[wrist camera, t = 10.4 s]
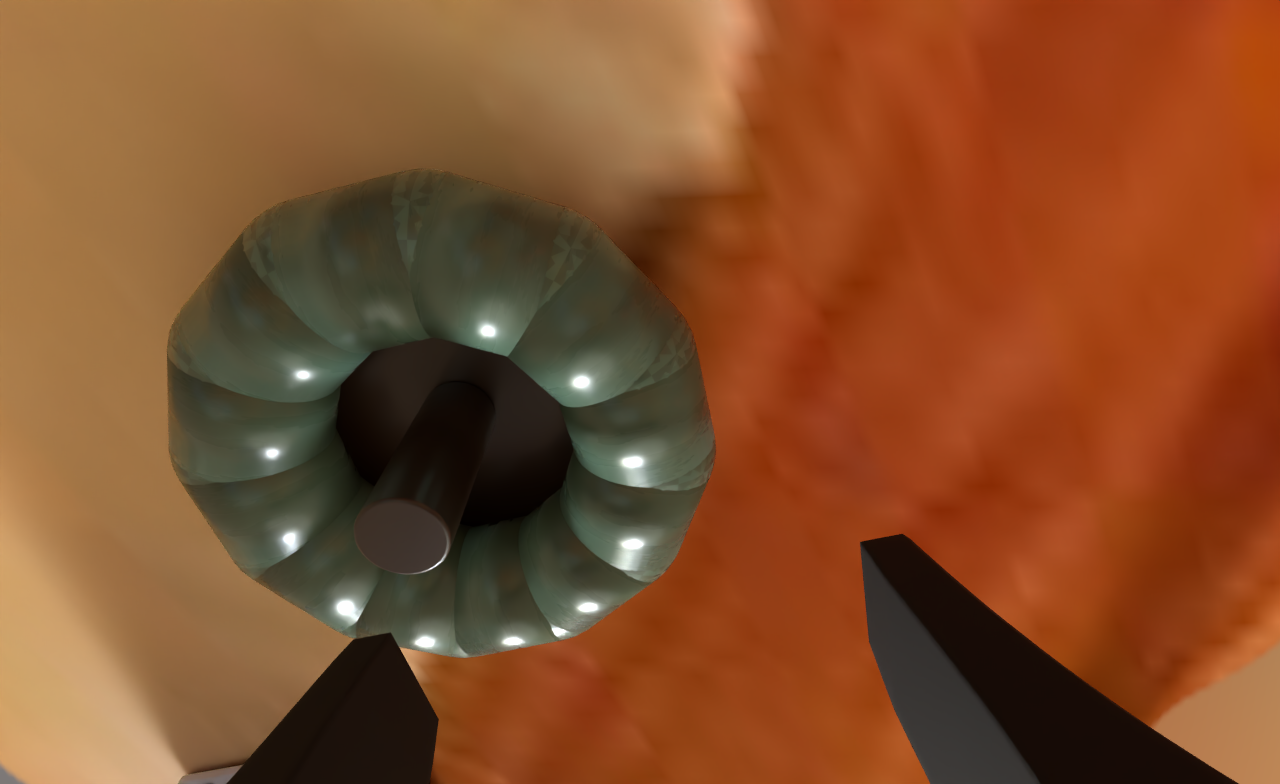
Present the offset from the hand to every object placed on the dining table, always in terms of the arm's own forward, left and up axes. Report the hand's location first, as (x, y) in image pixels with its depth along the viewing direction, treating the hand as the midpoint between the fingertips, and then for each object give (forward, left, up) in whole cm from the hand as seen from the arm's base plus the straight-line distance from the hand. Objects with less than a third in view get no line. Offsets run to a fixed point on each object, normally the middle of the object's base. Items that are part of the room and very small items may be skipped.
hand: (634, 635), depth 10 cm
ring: (-5, 0, -7) cm, 9 cm away
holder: (-5, 0, -10) cm, 11 cm away
